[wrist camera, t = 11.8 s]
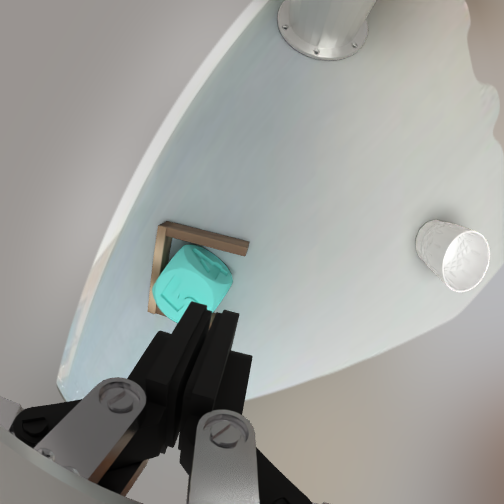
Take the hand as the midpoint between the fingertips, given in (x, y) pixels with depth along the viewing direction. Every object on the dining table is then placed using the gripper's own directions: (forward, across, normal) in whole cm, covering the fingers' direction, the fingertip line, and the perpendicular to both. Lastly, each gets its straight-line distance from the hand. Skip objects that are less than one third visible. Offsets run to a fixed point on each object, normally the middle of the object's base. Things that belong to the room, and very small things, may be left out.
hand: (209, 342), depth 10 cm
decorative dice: (+32, +7, +13) cm, 35 cm away
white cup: (+32, -26, 0) cm, 41 cm away
